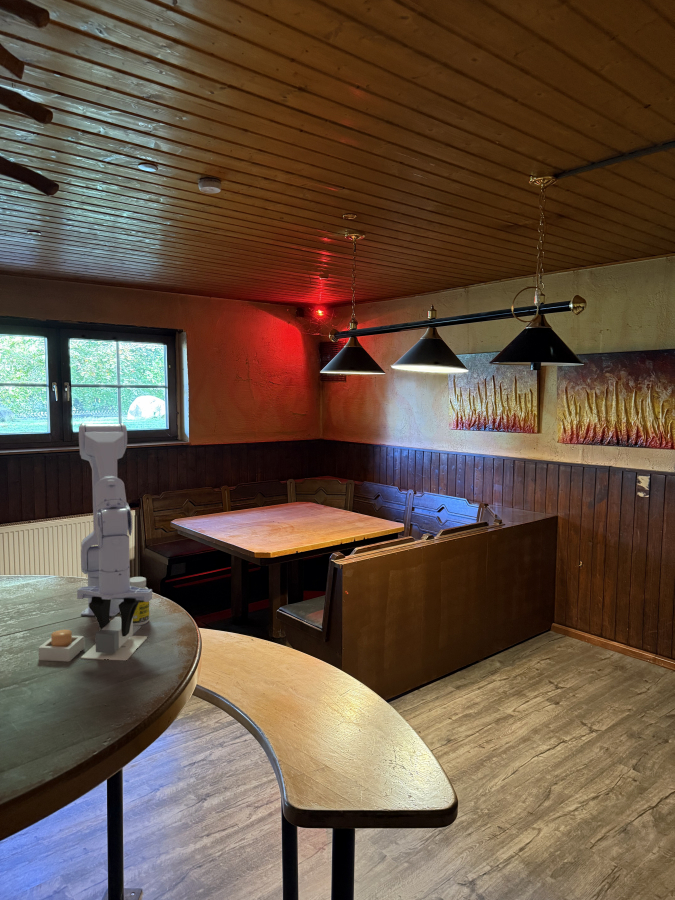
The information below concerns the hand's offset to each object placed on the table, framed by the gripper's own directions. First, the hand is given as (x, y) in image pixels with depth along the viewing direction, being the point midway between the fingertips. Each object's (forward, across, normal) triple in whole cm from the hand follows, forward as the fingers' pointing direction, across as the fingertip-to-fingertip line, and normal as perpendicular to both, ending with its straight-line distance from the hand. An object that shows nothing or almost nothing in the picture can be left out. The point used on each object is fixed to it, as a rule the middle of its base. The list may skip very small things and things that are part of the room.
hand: (115, 633), depth 121 cm
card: (+3, -2, +8) cm, 9 cm away
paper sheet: (+3, 0, 0) cm, 3 cm away
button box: (+3, -9, -4) cm, 10 cm away
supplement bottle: (+3, -1, +14) cm, 14 cm away
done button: (+2, -9, -4) cm, 10 cm away
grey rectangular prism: (+2, 0, 0) cm, 2 cm away
